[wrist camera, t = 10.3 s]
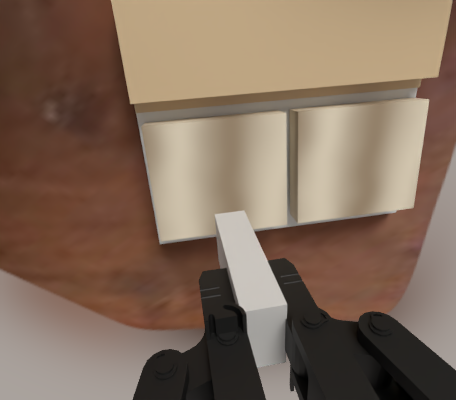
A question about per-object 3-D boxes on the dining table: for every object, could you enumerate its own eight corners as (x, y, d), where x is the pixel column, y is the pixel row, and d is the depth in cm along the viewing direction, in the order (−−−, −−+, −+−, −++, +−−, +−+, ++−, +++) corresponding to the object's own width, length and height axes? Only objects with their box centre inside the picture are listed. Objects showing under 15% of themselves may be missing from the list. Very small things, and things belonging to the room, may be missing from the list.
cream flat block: (161, 230, 25) (160, 241, 23) (144, 122, 22) (141, 127, 20) (280, 215, 26) (287, 224, 24) (278, 110, 23) (286, 113, 21)
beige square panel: (289, 213, 26) (297, 223, 24) (289, 109, 23) (298, 111, 21) (398, 199, 27) (413, 207, 25) (411, 97, 24) (429, 99, 22)
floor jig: (160, 238, 26) (159, 257, 24) (116, -7, 19) (108, -15, 17) (390, 208, 29) (409, 222, 26) (428, -23, 21) (459, -32, 19)
